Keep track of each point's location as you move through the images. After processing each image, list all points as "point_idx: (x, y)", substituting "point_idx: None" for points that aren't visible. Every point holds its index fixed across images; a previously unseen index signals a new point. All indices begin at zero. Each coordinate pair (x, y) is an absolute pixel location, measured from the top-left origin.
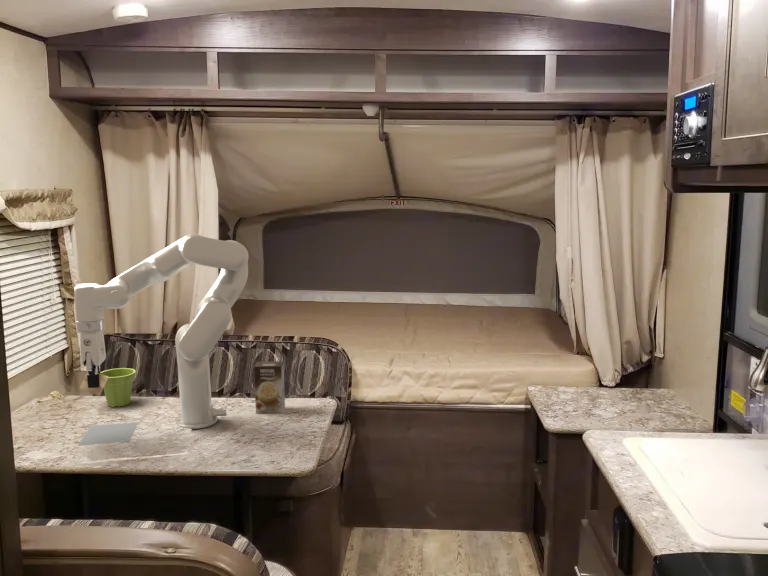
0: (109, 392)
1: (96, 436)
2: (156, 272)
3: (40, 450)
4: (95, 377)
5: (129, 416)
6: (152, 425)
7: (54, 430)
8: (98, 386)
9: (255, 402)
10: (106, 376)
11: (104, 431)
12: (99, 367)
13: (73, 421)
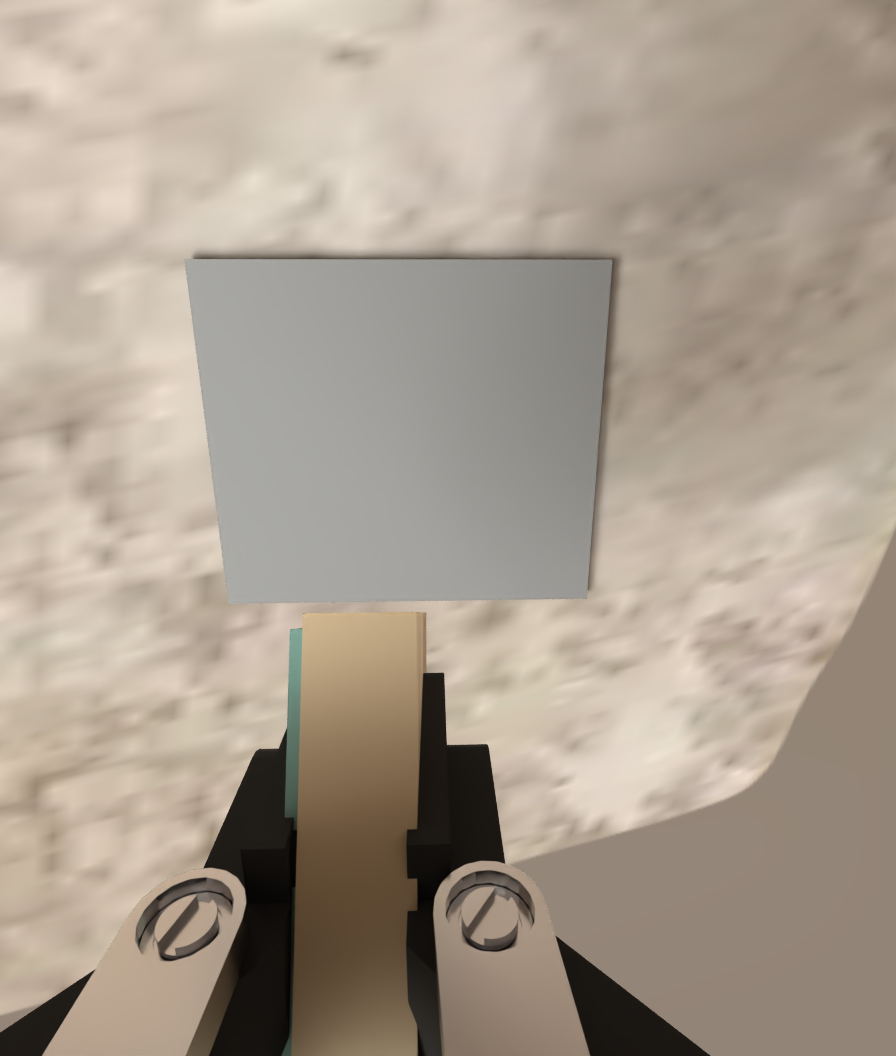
0: None
1: (453, 520)
2: None
3: (569, 771)
4: (492, 846)
5: (3, 376)
6: (240, 125)
7: None
8: (443, 687)
9: None
10: (346, 652)
11: (364, 488)
12: (176, 996)
13: (100, 733)
